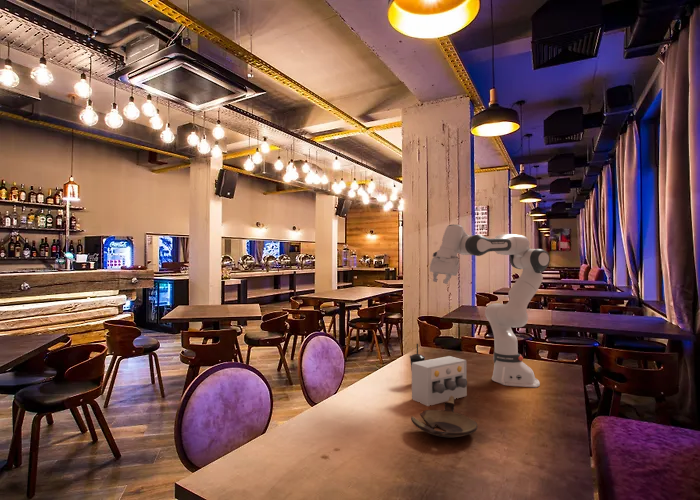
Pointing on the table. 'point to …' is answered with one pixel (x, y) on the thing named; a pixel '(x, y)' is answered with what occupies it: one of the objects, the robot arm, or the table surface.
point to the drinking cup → (416, 357)
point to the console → (437, 379)
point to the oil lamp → (446, 422)
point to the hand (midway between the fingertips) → (439, 282)
